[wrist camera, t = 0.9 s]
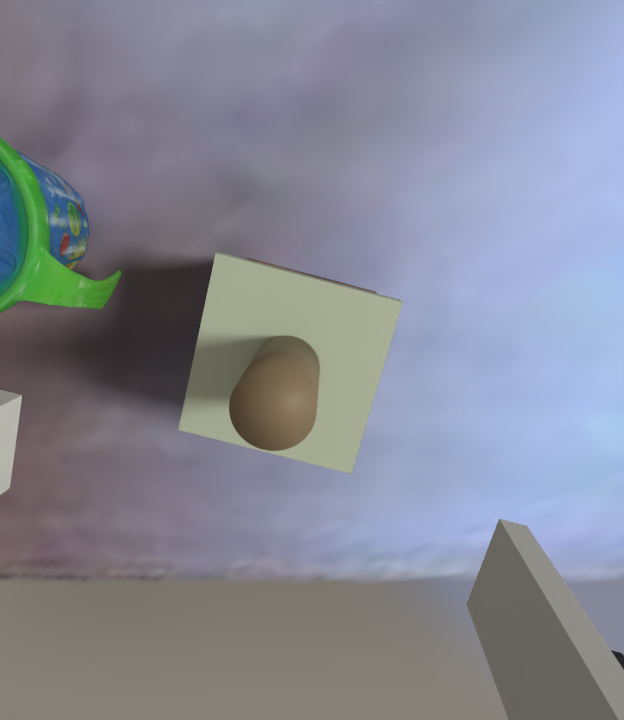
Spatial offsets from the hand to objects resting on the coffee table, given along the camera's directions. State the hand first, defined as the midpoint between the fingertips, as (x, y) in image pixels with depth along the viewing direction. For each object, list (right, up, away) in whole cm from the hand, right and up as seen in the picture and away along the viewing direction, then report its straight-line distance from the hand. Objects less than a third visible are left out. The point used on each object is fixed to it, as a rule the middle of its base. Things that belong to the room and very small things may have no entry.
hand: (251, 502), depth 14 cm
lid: (0, +4, +15) cm, 16 cm away
